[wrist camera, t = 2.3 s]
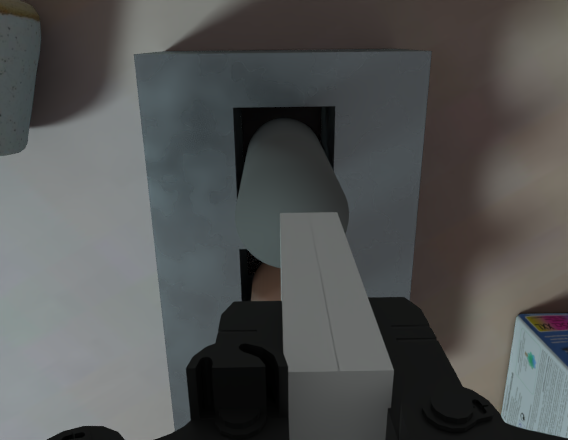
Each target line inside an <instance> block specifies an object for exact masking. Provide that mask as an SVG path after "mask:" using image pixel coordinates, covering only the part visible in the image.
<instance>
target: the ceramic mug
mask: <svg viewBox="0 0 568 440" xmlns="http://www.w3.org/2000/svg"><path fill="white" fill-rule="evenodd" d="M40 45H41V28H40V18H39V15H38V13H37V12H36V11H35V9H34V8H33V7H32V6H31V5H30V4H28V3H25V2H22V1H20V0H0V156H5V155H10V154H15V153H19V152H21V151H22V150H23V149H24V148H25V147H26V145H27V142H28V133H29V125H30V119H31V112H32V105H33V97H34V88H35V80H36V72H37V66H38V60H39V55H40Z"/></svg>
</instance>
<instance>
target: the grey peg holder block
mask: <svg viewBox="0 0 568 440" xmlns="http://www.w3.org/2000/svg"><path fill="white" fill-rule="evenodd" d="M431 53H432V51H423V50H407V49H333V50H242V51H163V52H153V53H143V54H134V60H135V69H136V78H137V88H138V97H139V106H140V115H141V124H142V133H143V143H144V152H145V161H146V170H147V179H148V189H149V198H150V207H151V216H152V225H153V234H154V244H155V253H156V262H157V271H158V280H159V289H160V299H161V308H162V317H163V326H164V335H165V344H166V354H167V363H168V372H169V381H170V390H171V399H172V409H173V418H174V427H175V431H177V430H178V429H180V428H182V427H183V426H185V425H186V424H187V423H188V422H189V421H190V420H191V418H190V407H189V397H188V386H187V375H186V367H187V366H188V364H189V362H190V360H191V359H192V357H193V356H194V355H195V354H197V353H198V352H199V351H201V350H202V349H204V348H205V347H207V346H209V345H212V344H215V343H216V338H217V334H218V328H219V323H220V318H221V314H222V313H223V312H224V311H225V310H226V309H227V308H228V307H229V306H230V305H231V304H232V303H233V302H234V301H251V293H252V281H253V277H254V275H248V261H247V248H246V247H245V246H244V244H243V243H242V241H241V239H240V237H239V235H238V232H237V228H236V223H235V209H236V204H237V199H238V194H239V189H240V184H241V179H242V175H243V170H244V159H243V133H242V107H313V106H321V146H322V148H323V150H324V152H325V155H326V157H327V159H328V161H329V163H330V165H331V167H332V169H333V171H334V173H335V175H336V177H337V179H338V181H339V183H340V185H341V188H342V190H343V192H344V194H345V196H346V199H347V202H348V207H349V222H348V227H347V231H346V233H345V235H346V238H347V241H348V244H349V247H350V249H351V252H352V255H353V258H354V260H355V263H356V266H357V269H358V272H359V274H360V277H361V280H362V283H363V286H364V288H365V291H366V294H367V297H405V298H406V299H408V300H409V301H410V290H411V279H412V268H413V256H414V245H415V234H416V222H417V211H418V200H419V188H420V177H421V166H422V154H423V143H424V132H425V121H426V109H427V98H428V87H429V75H430V64H431Z"/></svg>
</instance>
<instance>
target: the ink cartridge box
mask: <svg viewBox="0 0 568 440" xmlns="http://www.w3.org/2000/svg"><path fill="white" fill-rule="evenodd" d="M501 417H502V418H503V420H504V422H505V423H508V424H510V425H513V426H516V427H520V428H523V429H527V430H532V431H536V432H541V433H546V434H550V435H555V436H560V437H564V438H568V313H544V314H519V315H518V316H517V318H516V323H515V330H514V336H513V343H512V349H511V355H510V362H509V368H508V374H507V381H506V388H505V394H504V401H503V407H502V413H501Z"/></svg>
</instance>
